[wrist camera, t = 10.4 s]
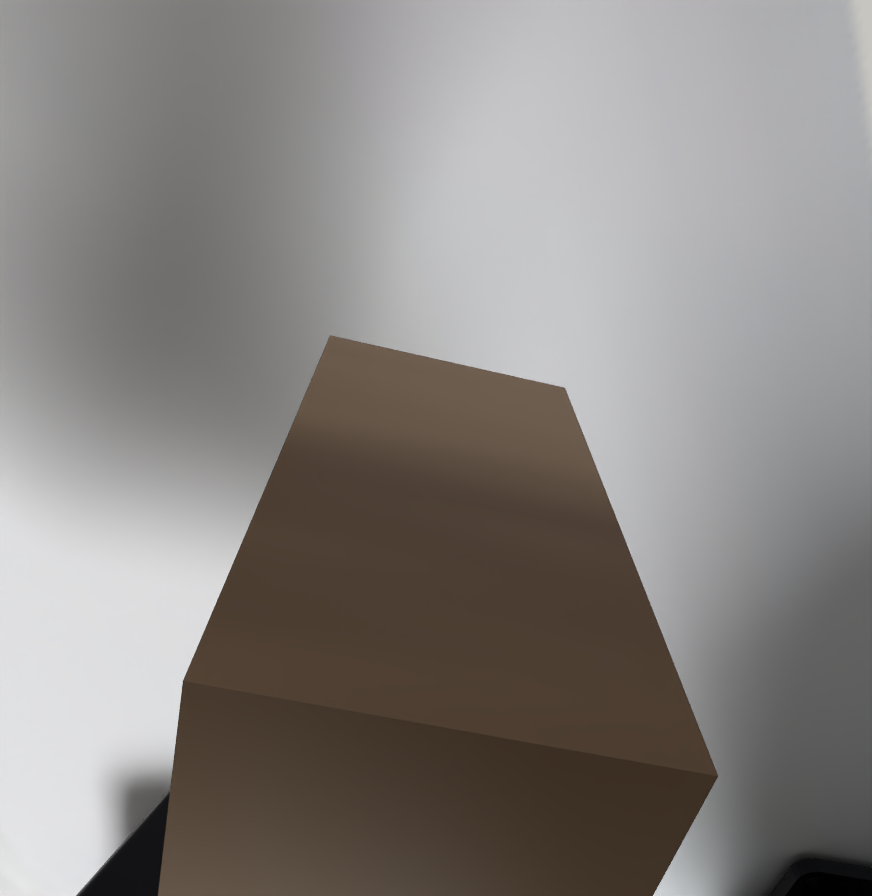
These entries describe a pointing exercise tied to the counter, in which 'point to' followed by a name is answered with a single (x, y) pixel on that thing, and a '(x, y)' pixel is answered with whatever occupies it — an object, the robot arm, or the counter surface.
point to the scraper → (431, 661)
